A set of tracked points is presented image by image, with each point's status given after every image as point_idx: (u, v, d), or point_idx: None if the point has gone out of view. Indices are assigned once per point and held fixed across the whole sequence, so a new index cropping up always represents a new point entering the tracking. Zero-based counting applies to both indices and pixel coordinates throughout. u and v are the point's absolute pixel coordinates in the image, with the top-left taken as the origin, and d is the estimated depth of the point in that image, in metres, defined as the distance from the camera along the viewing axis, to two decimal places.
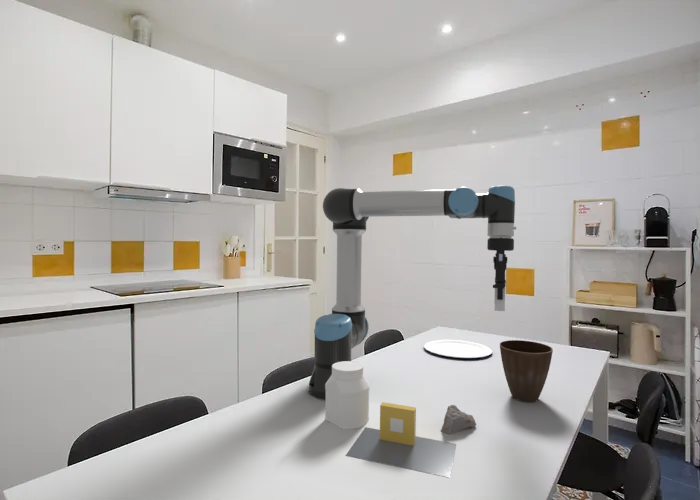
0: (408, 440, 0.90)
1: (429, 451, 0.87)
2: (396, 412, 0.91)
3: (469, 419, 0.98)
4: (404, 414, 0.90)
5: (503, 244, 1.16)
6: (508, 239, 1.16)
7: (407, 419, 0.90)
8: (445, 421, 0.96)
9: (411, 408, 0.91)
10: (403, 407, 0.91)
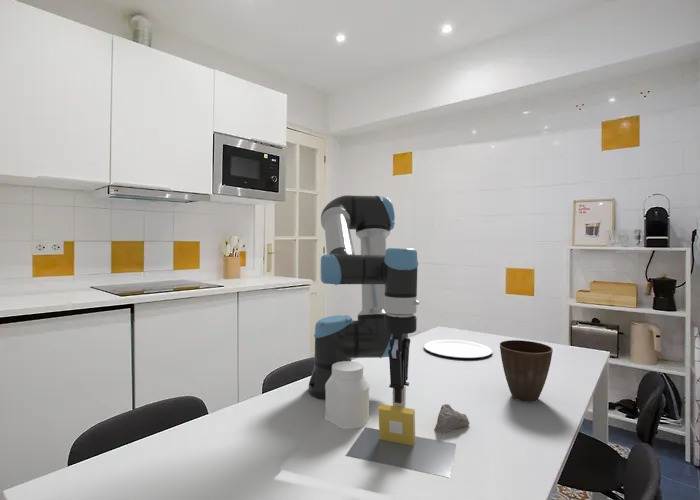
0: (408, 441, 0.90)
1: (429, 451, 0.87)
2: (395, 415, 0.89)
3: (462, 418, 0.98)
4: (403, 417, 0.89)
5: (400, 326, 0.88)
6: (406, 319, 0.88)
7: (406, 422, 0.89)
8: (438, 420, 0.96)
9: (410, 410, 0.89)
10: (402, 410, 0.89)
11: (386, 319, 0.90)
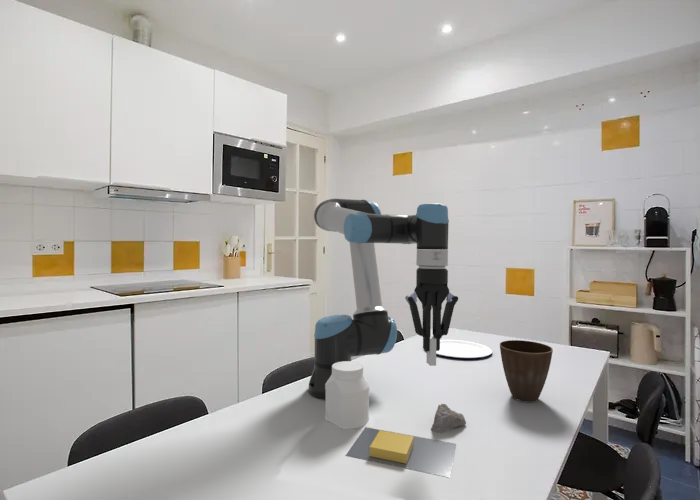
0: None
1: (429, 451, 0.87)
2: None
3: (459, 418, 0.99)
4: None
5: (418, 276, 0.95)
6: (423, 270, 0.94)
7: None
8: (435, 420, 0.96)
9: (402, 457, 0.82)
10: (394, 457, 0.83)
11: None
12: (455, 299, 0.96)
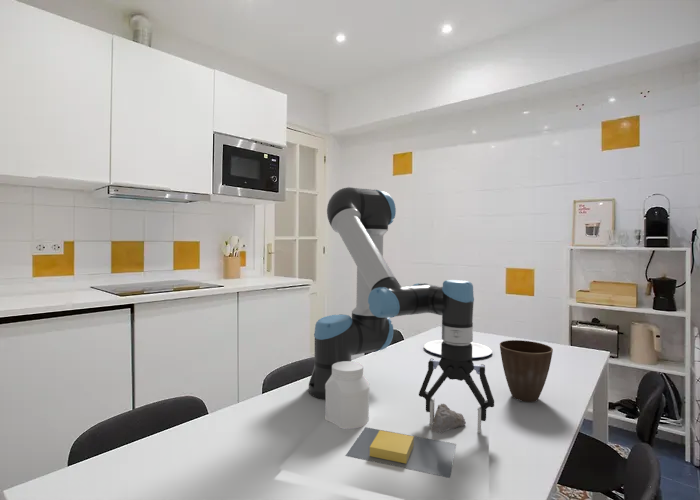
0: None
1: (429, 451, 0.87)
2: None
3: (459, 418, 0.99)
4: None
5: (441, 349, 1.00)
6: (444, 345, 0.98)
7: None
8: (435, 420, 0.96)
9: (402, 457, 0.82)
10: (394, 457, 0.83)
11: None
12: (482, 370, 0.96)
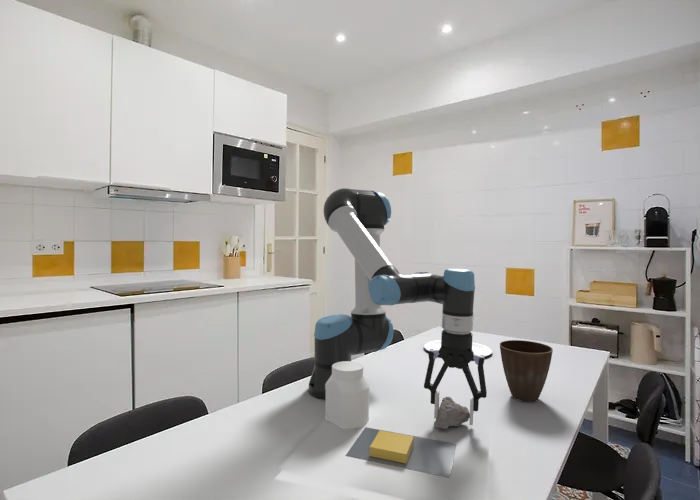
0: None
1: (429, 451, 0.87)
2: None
3: (463, 411, 0.98)
4: None
5: (441, 337, 1.00)
6: (444, 333, 0.98)
7: None
8: (439, 413, 0.96)
9: (402, 457, 0.82)
10: (394, 457, 0.83)
11: None
12: (481, 361, 0.96)
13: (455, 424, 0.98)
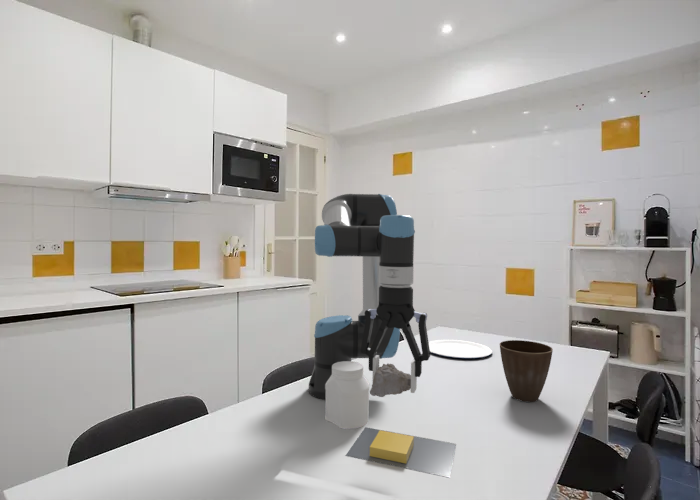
0: None
1: (429, 451, 0.87)
2: None
3: (404, 377, 0.85)
4: None
5: None
6: (380, 288, 0.86)
7: None
8: (375, 378, 0.83)
9: (402, 457, 0.82)
10: (394, 457, 0.83)
11: None
12: (422, 318, 0.84)
13: (394, 392, 0.85)
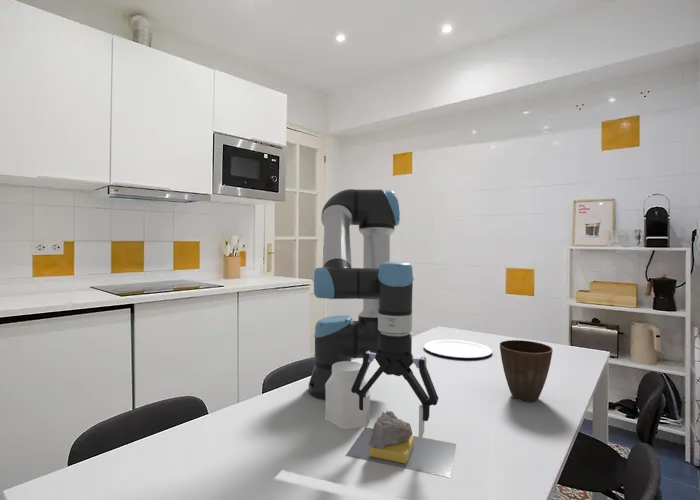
0: None
1: (429, 451, 0.87)
2: None
3: (403, 428, 0.86)
4: None
5: None
6: (379, 335, 0.86)
7: None
8: (374, 430, 0.83)
9: (402, 457, 0.82)
10: (394, 457, 0.83)
11: None
12: (421, 363, 0.84)
13: (394, 443, 0.85)
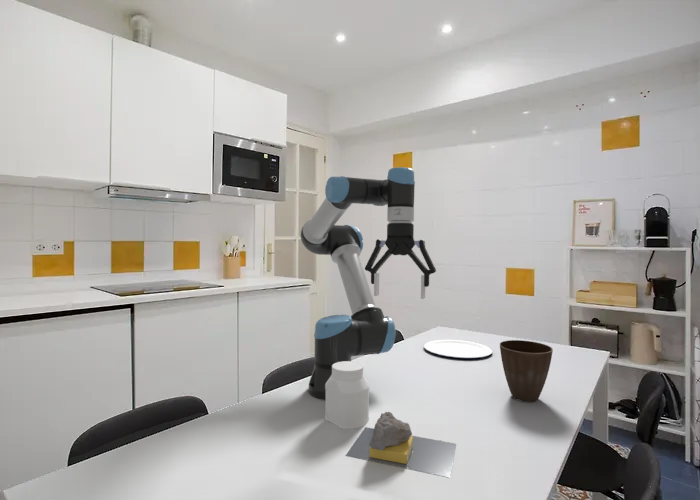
0: None
1: (429, 451, 0.87)
2: None
3: (403, 428, 0.85)
4: None
5: (387, 229, 1.13)
6: (388, 224, 1.12)
7: None
8: (375, 431, 0.83)
9: (402, 457, 0.82)
10: (394, 457, 0.82)
11: None
12: (421, 242, 1.09)
13: (394, 444, 0.85)
